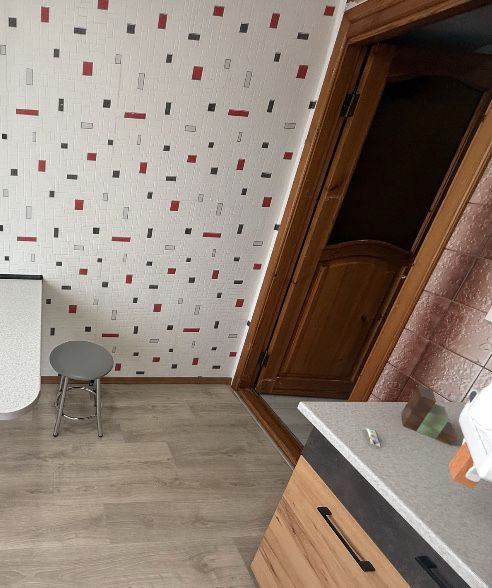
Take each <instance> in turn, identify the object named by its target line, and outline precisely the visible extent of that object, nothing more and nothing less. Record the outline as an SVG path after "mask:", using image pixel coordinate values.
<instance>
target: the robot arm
mask: <svg viewBox="0 0 492 588" xmlns="http://www.w3.org/2000/svg"><path fill="white" fill-rule="evenodd" d="M467 397H468V400H467V402H466V403H465V405H464V407H463V409H462V410H461V412H460V414H459V418H458V424H459V427H460V429H461V432H462V434H463V435H462V436H463V440H462V444H461V446H462V445H463V444H464V442H466V443H467V446H468V448H469V451H470V454H471V456H472V459H473V462H474V463H473V467H471V468H469V467H468V468H467V469H466V471H465V476H466V478H467V479H469V480H472V481H474V482H478V483H479V482H480V481H481V480H484V481H487V482H489V483H491V484H492V379H491V380H490V382H489V383H488V385H486V386H485V387H483V388H482V389H481V390H480V389H476V388H472V389H471V390H470V391H469V392H468V395H467Z"/></svg>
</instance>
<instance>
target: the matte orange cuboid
mask: <svg viewBox="0 0 492 588" xmlns="http://www.w3.org/2000/svg"><path fill="white" fill-rule="evenodd" d="M473 463H474V462H473V459H472V456H471V454H470V451H469V448H468V446H467V443H466V442H464V444H463V445H462V444H461V447H460V448H459V449H458V451H457V452H456V454H455V455H454V456H453V457H452V459H451V461H450V462H449V463H448V464H447V466H448V469H449V472H450V475H451V480H452V481H454V482H456V483H459V484H461V485H463V486H465V487H467V488H470V489H472V490H474V488H475V487H476V486H477V484H478V483H479V482H474V481H472V480H469V479H467V478H466V476H465V471H466V469H467V468H468V467H469V468H471V467H473Z"/></svg>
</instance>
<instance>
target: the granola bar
mask: <svg viewBox="0 0 492 588" xmlns="http://www.w3.org/2000/svg"><path fill="white" fill-rule="evenodd" d="M365 429H366V432H367V434H368V437H369V439H370V445H373V446H375V447H379V448H381V443H380V440H379V437H378V434H377V431H376V430H374V429H370V428H367V427H365Z"/></svg>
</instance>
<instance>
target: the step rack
mask: <svg viewBox="0 0 492 588" xmlns="http://www.w3.org/2000/svg"><path fill="white" fill-rule="evenodd" d="M400 415H401V422H402V427H404V428H407V429H410V430H412V431H415V432H417V433H419V434H422V435H424V436H427V437H430V438H432V439H434V440H437V441H440V442H442V443H444V444H447V445H449V446H451V445H452V444H453V443H454V442H455V440H456V439H457V435H456V432H455V428H454V426H453V423H452V422H449V417H448V414H447V410H446V408H445V406H442V405H440V404H437V400H436V397H435V393H434V390H433V389H432V388H429V387H427V386H424V385H420V384H418V385H417V386H416V388H415V390H414V391H413V393H412V395H411V396H410V398H409V400H408V401H407V403H406V405H405V406H404V408H403V409H402V411H401V413H400Z"/></svg>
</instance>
